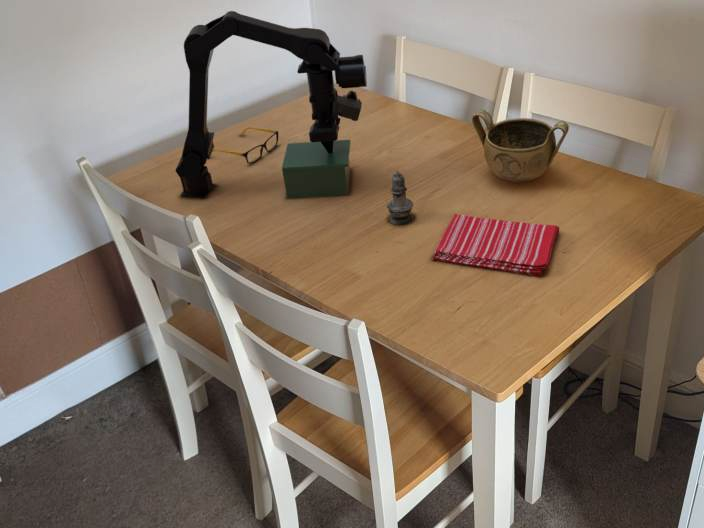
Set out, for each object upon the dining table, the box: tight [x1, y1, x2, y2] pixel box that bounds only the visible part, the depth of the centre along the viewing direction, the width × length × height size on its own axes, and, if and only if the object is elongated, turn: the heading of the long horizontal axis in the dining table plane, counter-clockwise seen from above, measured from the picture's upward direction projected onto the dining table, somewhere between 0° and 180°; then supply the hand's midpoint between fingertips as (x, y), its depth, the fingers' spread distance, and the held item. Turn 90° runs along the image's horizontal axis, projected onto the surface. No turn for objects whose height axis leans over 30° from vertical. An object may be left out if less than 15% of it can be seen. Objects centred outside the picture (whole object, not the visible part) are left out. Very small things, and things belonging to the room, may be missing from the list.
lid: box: [281, 139, 351, 171], centre depth 190 cm, size 15×13×1 cm
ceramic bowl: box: [471, 108, 570, 183], centre depth 186 cm, size 22×17×15 cm
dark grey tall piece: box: [386, 170, 414, 226], centre depth 175 cm, size 6×6×12 cm
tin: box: [281, 160, 351, 199], centre depth 192 cm, size 15×13×7 cm
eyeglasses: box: [212, 126, 279, 165], centre depth 211 cm, size 14×14×4 cm
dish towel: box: [431, 213, 560, 277], centre depth 166 cm, size 17×24×3 cm
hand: (330, 152), depth 189 cm, fingers closed, pressing on lid
